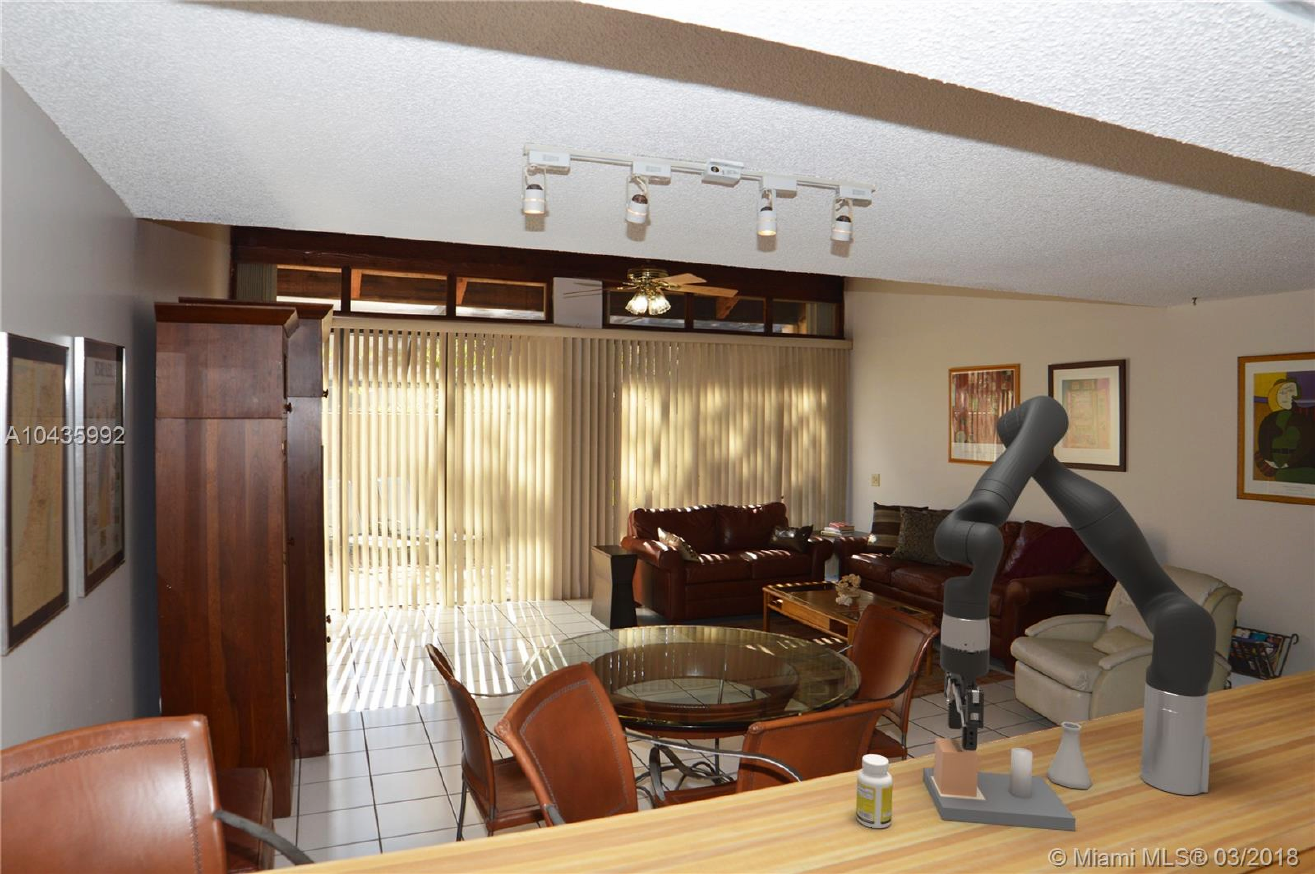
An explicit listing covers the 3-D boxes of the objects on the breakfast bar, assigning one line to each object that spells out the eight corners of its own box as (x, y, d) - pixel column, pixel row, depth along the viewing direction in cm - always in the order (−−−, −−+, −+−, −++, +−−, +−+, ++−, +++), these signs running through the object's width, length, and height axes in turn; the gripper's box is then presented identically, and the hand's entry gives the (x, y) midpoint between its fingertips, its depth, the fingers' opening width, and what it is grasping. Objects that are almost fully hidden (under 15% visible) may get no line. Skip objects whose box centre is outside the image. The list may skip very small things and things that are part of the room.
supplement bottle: (887, 813, 128) (890, 753, 127) (894, 831, 122) (896, 768, 122) (853, 810, 128) (855, 750, 128) (858, 828, 123) (860, 766, 122)
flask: (1090, 776, 143) (1093, 722, 142) (1093, 794, 136) (1096, 736, 136) (1045, 768, 146) (1048, 714, 145) (1046, 784, 139) (1049, 728, 139)
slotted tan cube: (933, 778, 136) (935, 736, 135) (967, 781, 135) (969, 738, 134) (940, 793, 130) (942, 750, 130) (976, 797, 129) (978, 753, 129)
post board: (1041, 788, 138) (1044, 737, 137) (1074, 831, 124) (1077, 774, 123) (922, 778, 140) (925, 728, 139) (942, 819, 126) (944, 764, 126)
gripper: (931, 628, 138) (928, 720, 139) (953, 653, 124) (949, 755, 125) (975, 631, 138) (972, 723, 138) (1002, 656, 124) (999, 759, 124)
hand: (961, 738), depth 132 cm, fingers open, 8 cm apart
